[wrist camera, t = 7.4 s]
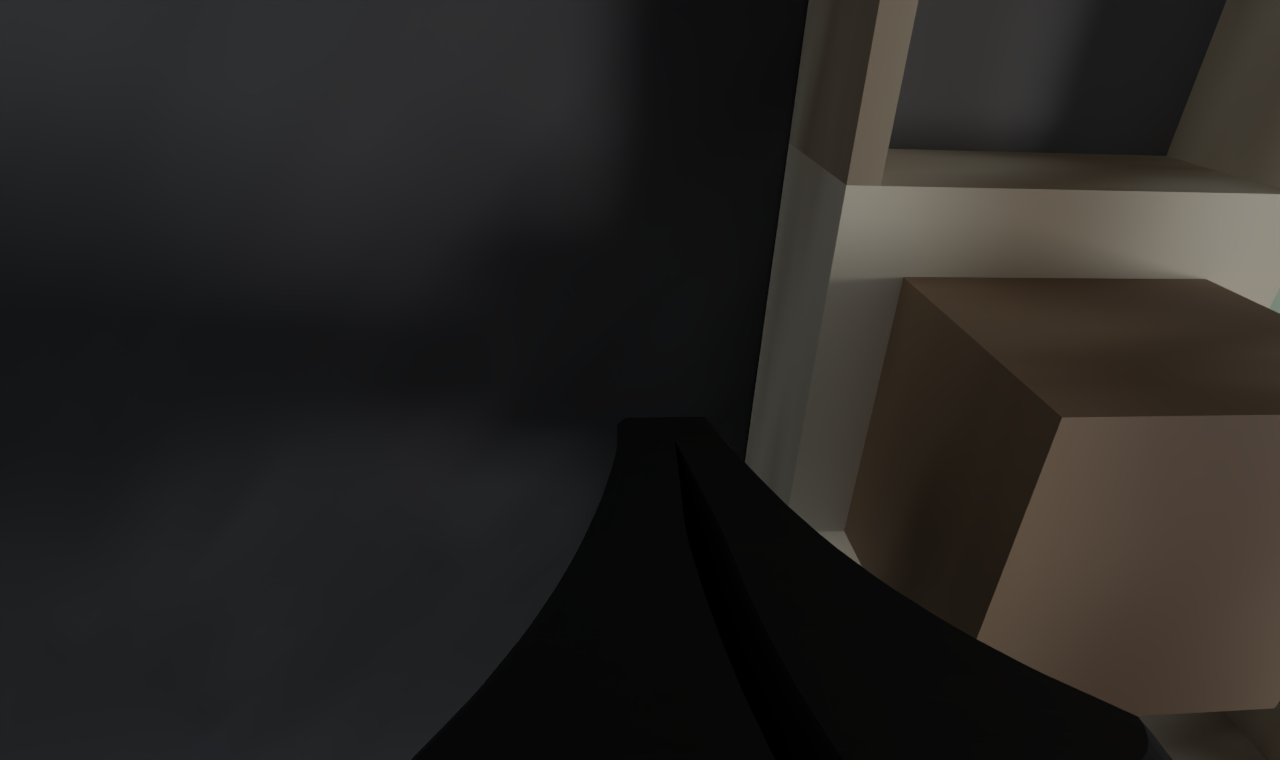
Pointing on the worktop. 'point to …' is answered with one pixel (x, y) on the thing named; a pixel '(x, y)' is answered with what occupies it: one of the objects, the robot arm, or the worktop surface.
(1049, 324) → the walnut block
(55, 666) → the worktop surface
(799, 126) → the trap board
